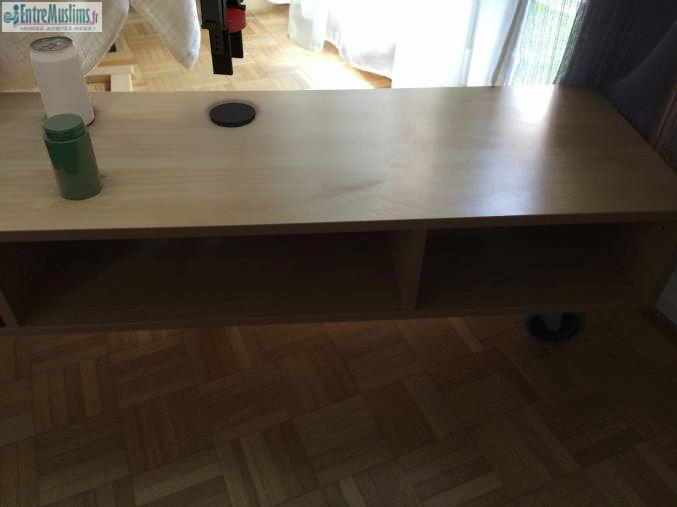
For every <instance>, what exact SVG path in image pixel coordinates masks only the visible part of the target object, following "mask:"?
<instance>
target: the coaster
mask: <svg viewBox="0 0 677 507" xmlns="http://www.w3.org/2000/svg"><path fill="white" fill-rule="evenodd" d="M209 118H210V121H211V123H213V124H214V125H216V126H219V127H223V128H237V127H243V126H247V125H249V124H251V123H252V122H254V121H255V119H256V109H255V108H254V107H253V106H252V105H250V104H248V103H243V102H236V101H232V102H223V103H219V104H217V105H215V106H213V107H212V108H211V109H210V110H209Z"/></svg>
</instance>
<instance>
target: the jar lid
mask: <svg viewBox="0 0 677 507" xmlns="http://www.w3.org/2000/svg"><path fill="white" fill-rule="evenodd" d="M226 24H227V28H229V31H230V33H231V32H237V31H240V30H242V31H243V30H245V29H246V27H247V15H246V11H245V12H244V11H243V10H240V9H236V8H226ZM206 30H207V31H209V30H208V29H206Z"/></svg>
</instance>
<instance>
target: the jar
mask: <svg viewBox="0 0 677 507" xmlns="http://www.w3.org/2000/svg"><path fill="white" fill-rule="evenodd" d="M42 130H43V132H42V139H43V143H44V146H45V150H46V153H47V155H48V160H49V162H50V165H51V168H52V172H53V176H54V178H55V183H56V186H57V189H58V192H59V194H60V196H61V197H62V198H64V199H68V200H71V201H73V200H74V201H76V200H77V201H78V200H84V199H85V200H86V199H89V198H91V197H94V196H95V195H97V194H98V193H100V192H101V191H102V189H103V181H102V178H101V173H100V170H99V166H98V161H97V158H96V153H95V148H94V146H93V142H92V138H91V134H90V130H89V127H88V126H85V124H84V121H83V120H82V118H81V117H80V116H79V115H76V114H59V115H55V116H52V117H50V118H46V119H45V120H44V121H43V122H42Z"/></svg>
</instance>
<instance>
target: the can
mask: <svg viewBox="0 0 677 507" xmlns="http://www.w3.org/2000/svg"><path fill="white" fill-rule="evenodd" d="M73 42H74V41H73V39H72V38H71V37H69V36H65V35H47V36H43V37H38V38H36V39H34V40H32V41H31V42H30V43H29V48H30V52H29V60H30V63H31V66H32V71H33V73H34V78H35V81H36V85H37V87H38V91H39V94H40V97H41V100H42V104H43V108H44V111H45V115H46V117H47V118H46V119H48V118H50V117H52V116H55V115H59V114H76V115H79V116H80V117H81V118H82V120H83V121H84V124H85V126H87V127H88V126H89V125H90V124H92V122H93V121H94V119H95V114H94V109H93V105H92V101H91V97H90V93H89V92H90V91H89V89H88V84H87V80H86V76H85V72H84V69H83V68H84V67H83V64H82V59H81V55H80V53H79V49H78V48H77V47H76V46H75V44H74V43H73Z"/></svg>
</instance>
